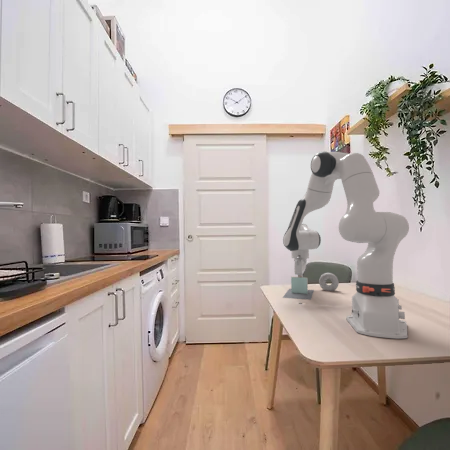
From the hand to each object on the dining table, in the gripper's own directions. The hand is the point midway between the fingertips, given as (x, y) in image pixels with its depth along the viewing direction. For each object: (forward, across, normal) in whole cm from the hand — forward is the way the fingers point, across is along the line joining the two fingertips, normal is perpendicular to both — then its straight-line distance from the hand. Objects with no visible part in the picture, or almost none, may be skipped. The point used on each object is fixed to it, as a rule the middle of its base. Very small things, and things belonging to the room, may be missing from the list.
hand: (300, 281), depth 148 cm
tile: (+5, -4, 0) cm, 7 cm away
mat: (+6, -6, 0) cm, 8 cm away
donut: (+6, +7, -14) cm, 17 cm away
